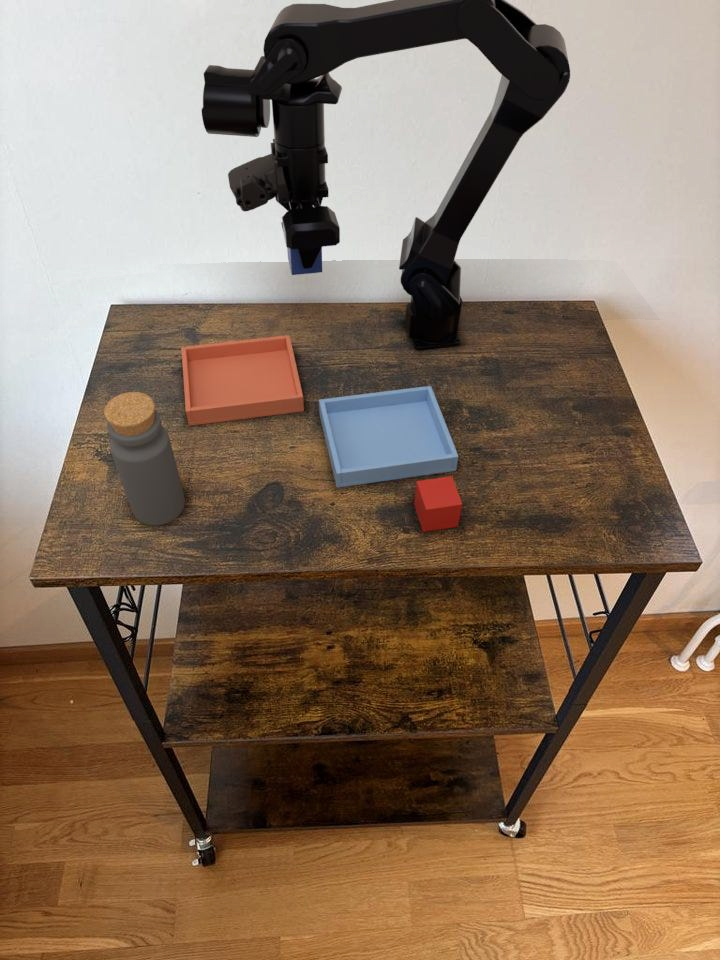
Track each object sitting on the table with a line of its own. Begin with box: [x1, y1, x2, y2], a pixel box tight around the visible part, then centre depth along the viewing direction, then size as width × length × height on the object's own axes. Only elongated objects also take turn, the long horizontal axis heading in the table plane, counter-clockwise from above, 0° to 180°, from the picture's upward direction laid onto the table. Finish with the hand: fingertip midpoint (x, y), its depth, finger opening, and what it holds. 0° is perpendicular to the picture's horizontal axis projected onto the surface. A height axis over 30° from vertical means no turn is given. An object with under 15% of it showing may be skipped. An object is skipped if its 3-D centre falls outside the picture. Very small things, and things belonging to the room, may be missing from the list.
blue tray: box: [318, 385, 459, 488], centre depth 87 cm, size 14×12×2 cm
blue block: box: [286, 247, 323, 276], centre depth 94 cm, size 4×4×4 cm
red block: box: [413, 475, 463, 533], centre depth 80 cm, size 4×4×4 cm
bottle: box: [103, 391, 186, 527], centre depth 76 cm, size 6×6×15 cm
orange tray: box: [181, 334, 305, 427], centre depth 93 cm, size 14×12×2 cm
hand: (304, 258), depth 95 cm, fingers closed on blue block, 4 cm apart
